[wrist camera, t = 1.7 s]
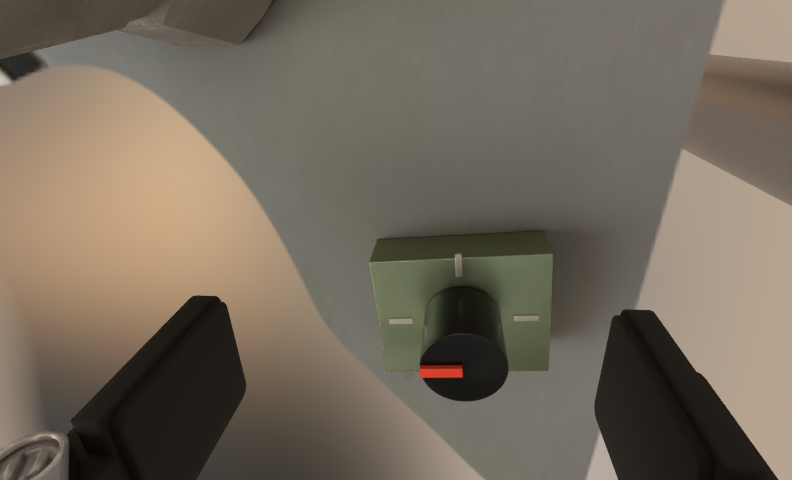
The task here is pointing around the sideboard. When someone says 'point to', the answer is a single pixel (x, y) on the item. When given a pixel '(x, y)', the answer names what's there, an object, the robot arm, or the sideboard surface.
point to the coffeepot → (125, 21)
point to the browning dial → (463, 345)
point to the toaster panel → (472, 268)
